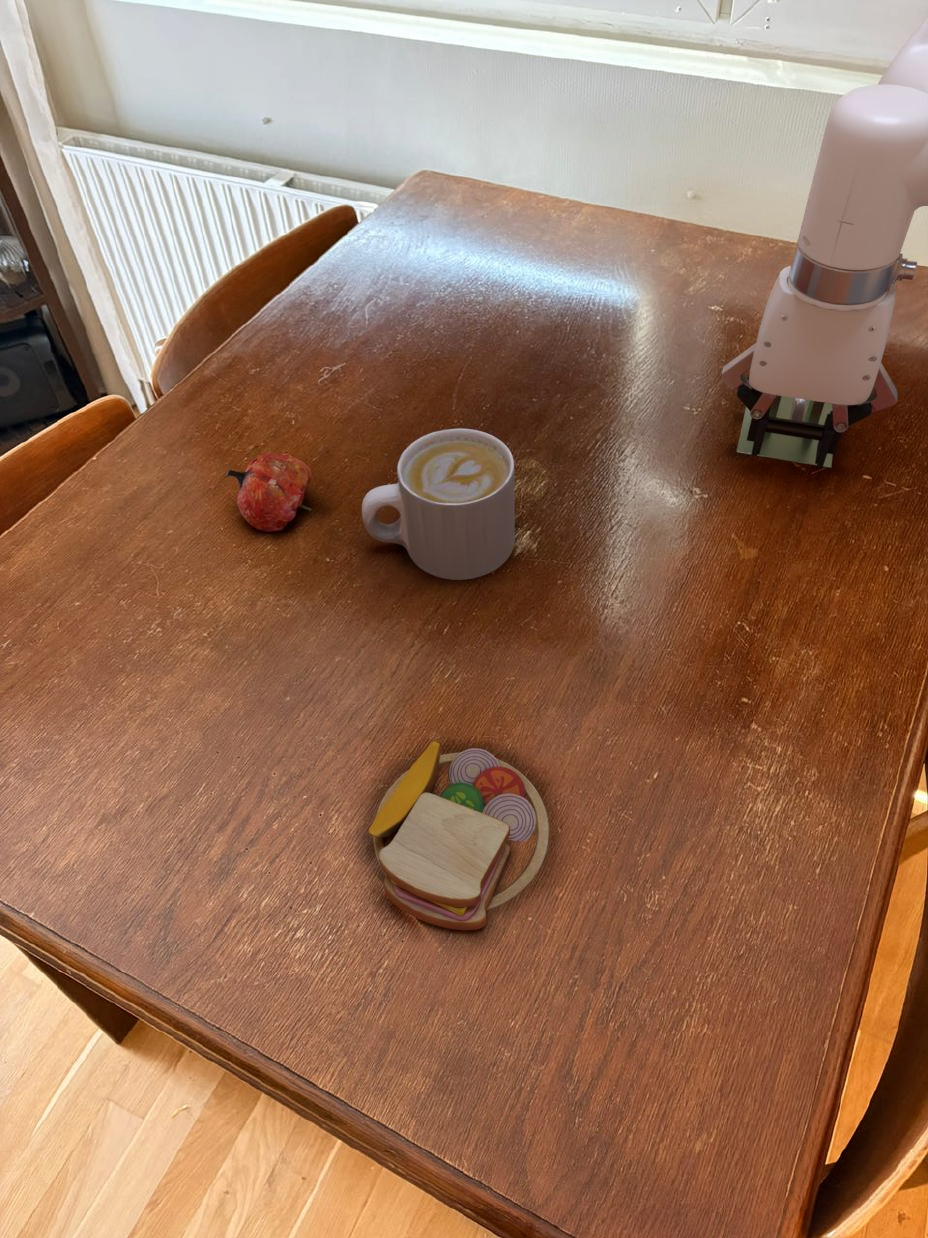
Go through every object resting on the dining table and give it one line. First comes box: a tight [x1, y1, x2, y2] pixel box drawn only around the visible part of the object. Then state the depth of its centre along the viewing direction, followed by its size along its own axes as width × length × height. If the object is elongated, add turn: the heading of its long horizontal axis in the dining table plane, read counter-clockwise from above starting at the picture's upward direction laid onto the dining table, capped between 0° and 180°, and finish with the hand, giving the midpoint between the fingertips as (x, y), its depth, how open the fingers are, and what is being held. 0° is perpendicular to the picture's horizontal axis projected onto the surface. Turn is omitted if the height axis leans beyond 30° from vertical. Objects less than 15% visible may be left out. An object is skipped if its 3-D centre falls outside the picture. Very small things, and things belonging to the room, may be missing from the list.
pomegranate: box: [224, 453, 313, 533], centre depth 84 cm, size 7×7×10 cm
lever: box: [765, 398, 825, 441], centre depth 83 cm, size 11×5×2 cm, turn 162°
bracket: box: [735, 395, 833, 469], centre depth 87 cm, size 12×9×12 cm
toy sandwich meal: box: [368, 740, 550, 931], centre depth 63 cm, size 12×14×5 cm
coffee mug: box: [361, 427, 516, 581], centre depth 80 cm, size 13×10×10 cm
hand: (788, 449), depth 84 cm, fingers closed on lever, 5 cm apart
